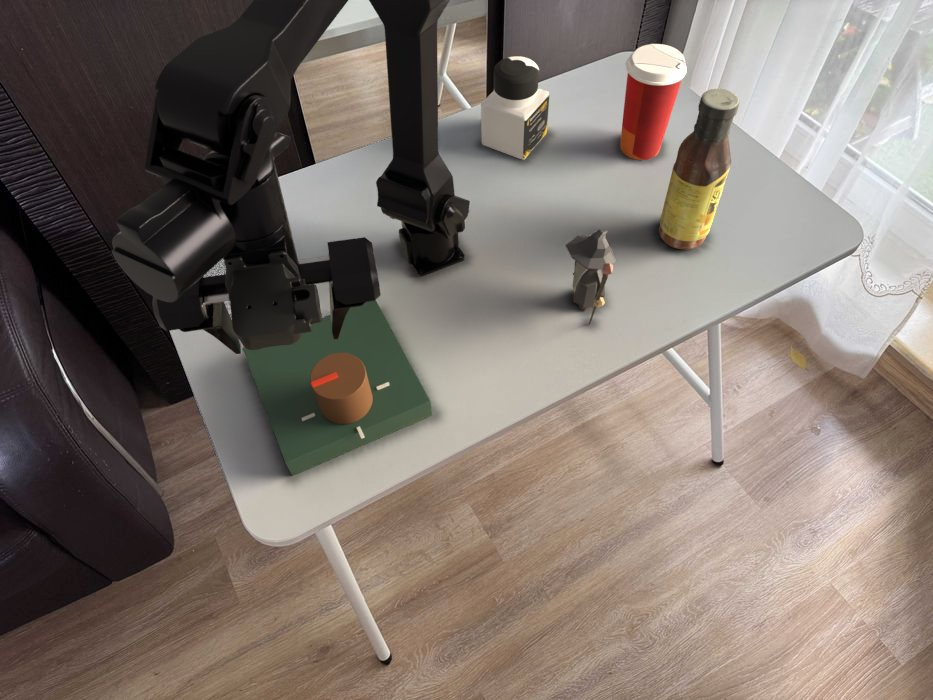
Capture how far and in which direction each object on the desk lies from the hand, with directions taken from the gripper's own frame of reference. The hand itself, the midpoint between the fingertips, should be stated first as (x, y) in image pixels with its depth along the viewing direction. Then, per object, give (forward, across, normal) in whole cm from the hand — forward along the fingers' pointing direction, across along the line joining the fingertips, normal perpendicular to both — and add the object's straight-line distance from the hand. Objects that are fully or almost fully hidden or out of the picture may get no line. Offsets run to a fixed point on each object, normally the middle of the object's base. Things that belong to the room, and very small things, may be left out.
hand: (287, 343), depth 69 cm
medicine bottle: (+9, +33, +40) cm, 53 cm away
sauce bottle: (+9, +50, +16) cm, 53 cm away
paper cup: (+8, +50, +34) cm, 61 cm away
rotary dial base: (+12, +4, +3) cm, 13 cm away
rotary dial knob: (+9, +4, -1) cm, 10 cm away
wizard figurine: (+10, +34, +8) cm, 37 cm away
